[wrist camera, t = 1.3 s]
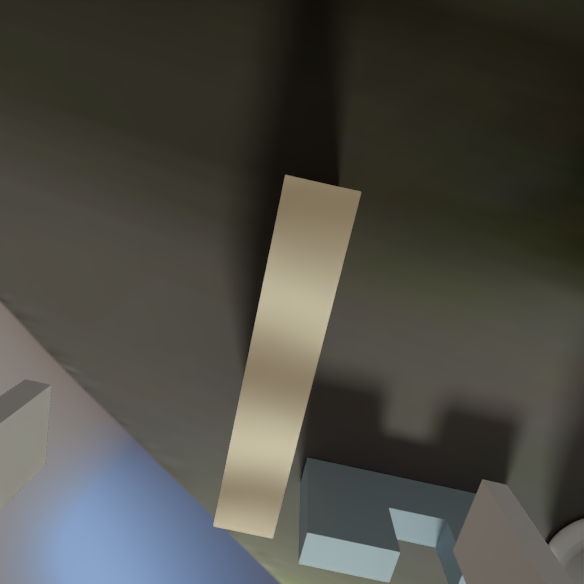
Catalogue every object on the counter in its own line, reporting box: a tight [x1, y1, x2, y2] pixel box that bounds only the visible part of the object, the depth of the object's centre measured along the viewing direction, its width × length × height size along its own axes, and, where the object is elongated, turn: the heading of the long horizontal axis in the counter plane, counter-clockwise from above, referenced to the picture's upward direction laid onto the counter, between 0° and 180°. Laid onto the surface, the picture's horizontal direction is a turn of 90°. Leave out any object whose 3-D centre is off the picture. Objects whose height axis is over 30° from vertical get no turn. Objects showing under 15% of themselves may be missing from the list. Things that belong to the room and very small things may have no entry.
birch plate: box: [213, 175, 361, 539], centre depth 22 cm, size 17×3×11 cm, turn 168°
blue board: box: [298, 457, 476, 584], centre depth 28 cm, size 16×2×7 cm, turn 78°
